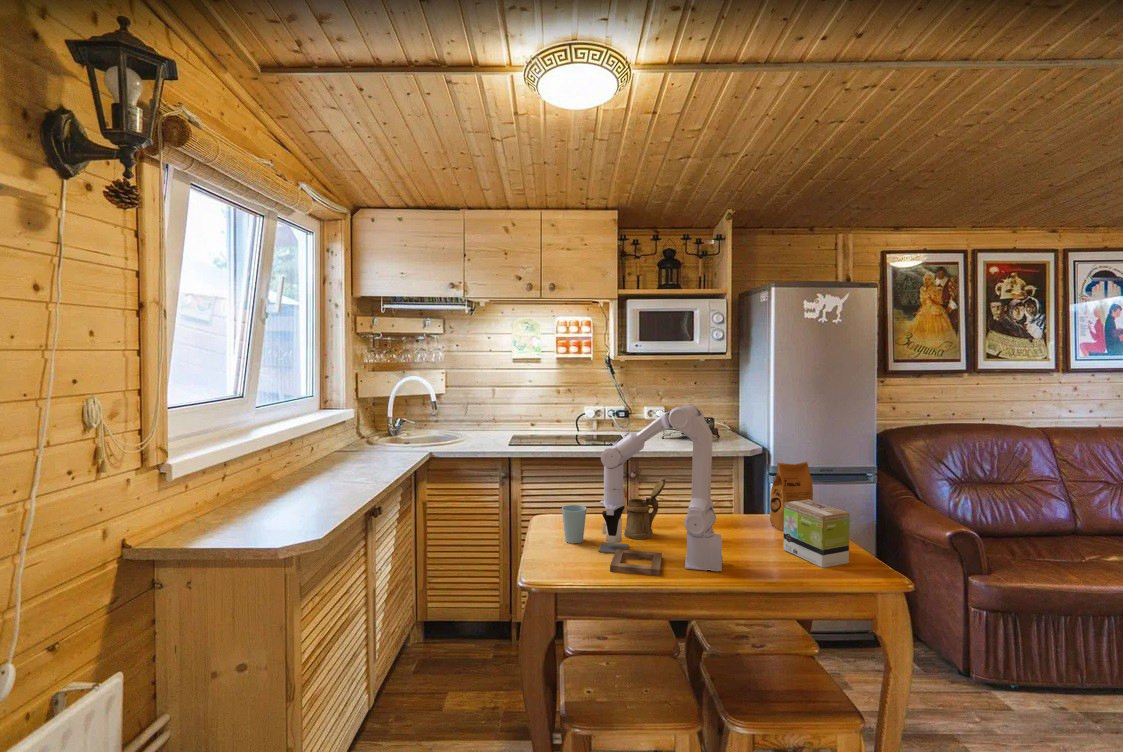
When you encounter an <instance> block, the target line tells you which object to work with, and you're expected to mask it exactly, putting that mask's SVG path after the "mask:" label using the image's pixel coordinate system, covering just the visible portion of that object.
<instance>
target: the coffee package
mask: <svg viewBox="0 0 1123 752" xmlns="http://www.w3.org/2000/svg"><path fill="white" fill-rule="evenodd" d="M776 464H777V465H776V466H777V469H778V470H777V472H776V474H775V478H774V480H773V483H772V486H771V490H770V500H769V501H770V503H769V506H770V507H769V508H770V512H769V521H770V524H771V526H774V528H776V529H777V530H778V531H781V532H784V502H785V503H786V502H793V501H800V500H807V499H810V500H813V501H814V498H813V497H814V492H813V491H814V489H813V480H812V476H811V473H810V472H811V471H810V466H809V463H808V461H804V462H803V461H802V462H800V463H795V464H793V463H785V462H777V463H776Z"/></svg>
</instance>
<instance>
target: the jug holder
mask: <svg viewBox="0 0 1123 752" xmlns="http://www.w3.org/2000/svg"><path fill="white" fill-rule="evenodd" d="M630 558H632V560H642V559H647V560H646V561H652V563H651V565H644V564H642V565H641V564H633V563H632V564H631V563H630V564H629V563H622V562H623V560H624V559H630ZM662 560H663V552H657V551H643V550H633V549H631V550H630V549H627V550H620V549H616V552H615V554H613V557H612V560H611V562H610V565H609V572H610V573H611V572H612V573H622V574H623V573H625V574H634V575H635V574H636V575H645V576H655V577H656V576H657V577H659V576H660V573H661V568H662Z"/></svg>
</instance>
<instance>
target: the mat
mask: <svg viewBox="0 0 1123 752" xmlns="http://www.w3.org/2000/svg"><path fill="white" fill-rule="evenodd" d="M629 545H630V544H629V543H621V542H619V543H610V542H607V541H606V542H605V541H602V542H601V544H600V546H599V548H598V549H597V550H598V551H597V553H598V552H600V554H609V553H613V555H614V554H615V552H616V549H620V550H628V549H627V548H629Z"/></svg>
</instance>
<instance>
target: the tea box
mask: <svg viewBox="0 0 1123 752" xmlns="http://www.w3.org/2000/svg"><path fill="white" fill-rule="evenodd" d="M850 517H851V516H850V511H846V510H843V509H839V508H837V507H833V506H831V505H828V504H825V503H821V502H819V501H815V500H814V499H813V500H810V499H807V500H800V501H793V502H786V503H785V502H784V531H783V551H785V552H788V553H791V554H793V555H795V556H797V557H798V558H801V559H803V560H805V561H807V562H809V563H811V564H812V565H815V566H818V567H819V568H822V569H823V568H824V569H825V568H829V567H835V566H842V565H846V564H849V562H850V559H849V558H850Z"/></svg>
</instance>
